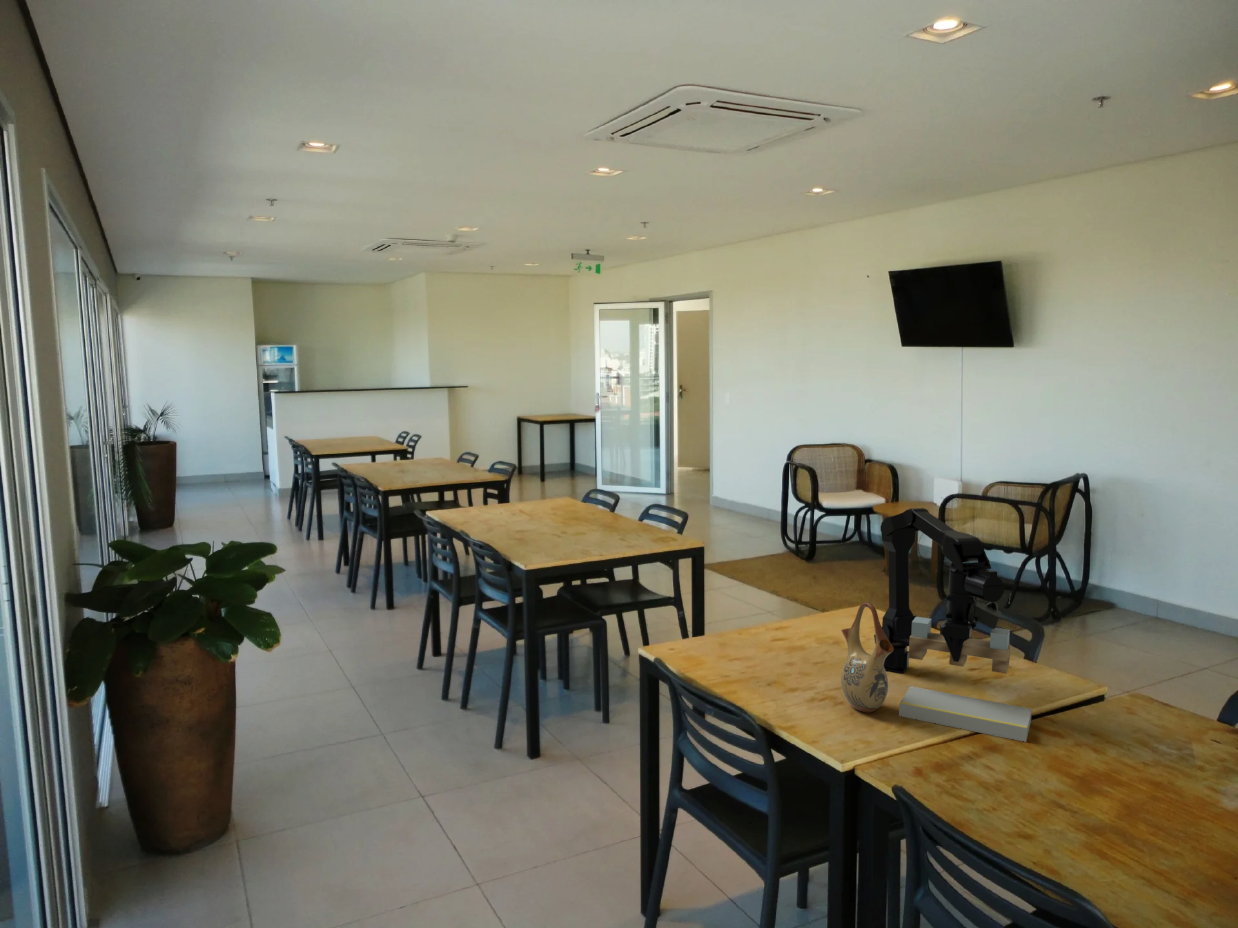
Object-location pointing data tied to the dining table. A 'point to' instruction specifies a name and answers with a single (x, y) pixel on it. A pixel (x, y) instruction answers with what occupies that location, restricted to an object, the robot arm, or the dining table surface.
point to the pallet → (969, 648)
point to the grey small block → (921, 627)
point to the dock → (966, 713)
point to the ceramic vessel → (865, 666)
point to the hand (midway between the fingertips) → (958, 657)
